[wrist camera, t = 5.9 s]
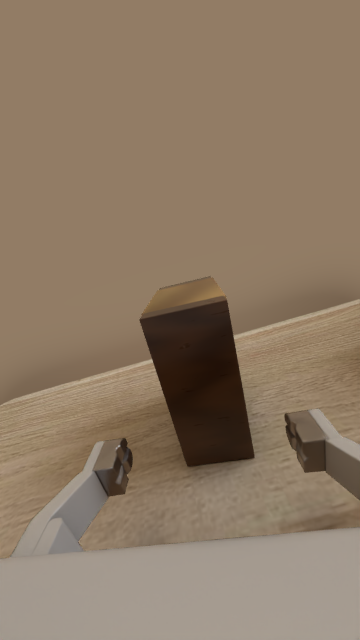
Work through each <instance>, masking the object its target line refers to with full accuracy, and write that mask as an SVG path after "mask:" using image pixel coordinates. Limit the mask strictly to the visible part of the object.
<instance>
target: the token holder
mask: <svg viewBox="0 0 360 640" xmlns="http://www.w3.org/2000/svg"><path fill="white" fill-rule="evenodd" d="M140 323H141V326H142V329H143V332H144V335H145V338H146V341H147V345H148V347H149V351H150V354H151V357H152V360H153V363H154V366H155V369H156V372H157V375H158V378H159V381H160V384H161V387H162V390H163V394H164V397H165V400H166V403H167V406H168V409H169V412H170V415H171V418H172V421H173V424H174V427H175V430H176V433H177V436H178V439H179V442H180V445H181V449H182V452H183V455H184V458H185V461H186V464H187V466H195V465H202V464H210V463H217V462H224V461H232V460H239V459H247V458H254V457H255V456H254V450H253V445H252V439H251V433H250V428H249V422H248V416H247V411H246V405H245V399H244V393H243V388H242V382H241V376H240V371H239V365H238V359H237V354H236V348H235V342H234V337H233V331H232V325H231V320H230V315H229V308H228V303H227V299H226V295H225V294H224V293H223V291H222V290H221V289H220V287H219V286H218V284H217V283H216V282H215V280H214V279H213V278H211V277H210V276H209V277H205V278H201V279H197V280H193V281H188V282H184V283H180V284H176V285H171V286H168V287H164V288H160V289H159V290H158V291H157V292H156V294H155V295H154V297H153V298H152V300H151V301H150V303H149V304H148V305H147V307H146V309H145V310H144V312H143V313H142V317H141V318H140Z"/></svg>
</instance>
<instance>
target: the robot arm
mask: <svg viewBox="0 0 360 640" xmlns="http://www.w3.org/2000/svg"><path fill="white" fill-rule="evenodd" d="M285 421H286V423H287V426H286V433H287V437H288V440H289V442H290V445H291V447H292V449H294V450H295V451H297V459H298V460H299V462H300V464H301V466H302V468H303V470H304V472H305V473H308V472H319V471H326V473H327V474H329V475H330V476H331V477H332V478H334V479H335V480H336V481H337V482H338V483H340V484H341V485H342V486H343V487H344V488H346V489H347V490H348V491H349V492H350V493H352V494H353V495H354V496H355V497H357V498H358V499H359V500H360V445H359V444H357V443H356V442H354V441H352V440H350V439H348V438H346V437H343V438H342V437H341V435H340V434H339V433H338V432H337V430H336V429H335V428H334V427H333V425H332V424H331V423H330V422H329V420H328V419H327V418H326V417H325V415H324V414H323V413H322V412H321V410H320V409H318V408H317V409H311V410H304V411H298V412H292V413H286V414H285ZM127 444H128V443H127V441H126V439H125V438H122V439H114V440H106V441H99V442H97V443H96V444H95V445H94V447H93V449H92V451H91V453H90V456H89V458H88V460H87V462H86V464H85V466H84V468H83V470H82V473H78V474H77V475H76V476H75V477H74V478H73V479H72V480H71V481H70V482H69V483H68V484H67V485H66V486H65V487H64V488H63V489H62V490H61V491H60V492H59V493H58V494H57V495H56V496H55V497H54V498H53V499H52V500H51V501H50V502H49V503H48V504H47V505H46V506H45V507H44V508H43V509H42V510H41V511H40V512H39V513H38V514H37V515H36V516H35V517H34V518H33V519H31V521H30V523H29V525H28V526H27V528H26V530H25V532H24V533H23V535H22V537H21V539H20V540H19V542H18V544H17V546H16V547H15V549H14V551H13V553H12V554H11V556H10V558H0V640H360V527H353V528H342V529H330V530H319V531H308V532H296V533H285V534H273V535H262V536H251V537H239V538H228V539H216V540H205V541H194V542H183V543H171V544H160V545H149V546H137V547H126V548H115V549H103V550H92V551H84V550H83V548H82V547H81V546H80V544H79V543H78V541H79V539H80V538H81V537H82V535H83V534H84V532H85V531H86V529H87V528H88V526H89V525H90V524H91V522H92V521H93V519H94V518H95V516H96V515H97V514H98V512H99V511H100V509H101V508H102V506H103V505H104V504H105V502H106V501H107V499H108V497H109V496H116V495H122V494H125V492H126V488H127V484H128V480H129V479H128V477H127V474H128V473H129V472H130V471H131V468H132V463H133V456H132V452H131V450H130V449H129V448H128V447H127Z"/></svg>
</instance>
